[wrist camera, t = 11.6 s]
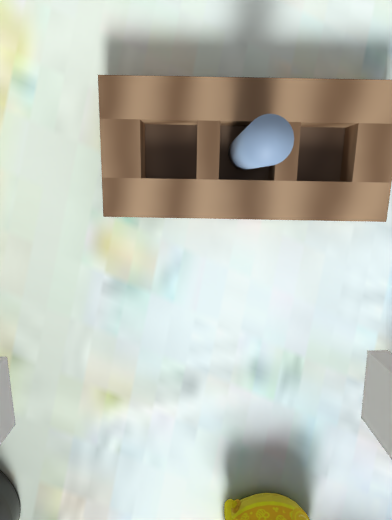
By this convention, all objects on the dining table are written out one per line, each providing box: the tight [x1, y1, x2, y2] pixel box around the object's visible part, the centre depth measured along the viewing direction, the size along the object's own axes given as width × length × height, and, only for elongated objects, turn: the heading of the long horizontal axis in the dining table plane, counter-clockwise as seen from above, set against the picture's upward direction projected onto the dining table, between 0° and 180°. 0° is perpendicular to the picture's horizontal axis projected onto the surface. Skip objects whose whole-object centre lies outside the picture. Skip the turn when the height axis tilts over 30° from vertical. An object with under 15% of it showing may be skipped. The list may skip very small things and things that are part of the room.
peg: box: [228, 114, 294, 170], centre depth 30 cm, size 3×3×12 cm
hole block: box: [98, 75, 392, 222], centre depth 34 cm, size 26×12×3 cm, turn 89°
